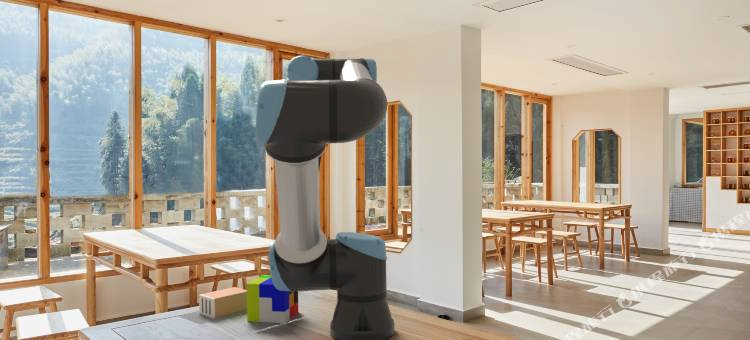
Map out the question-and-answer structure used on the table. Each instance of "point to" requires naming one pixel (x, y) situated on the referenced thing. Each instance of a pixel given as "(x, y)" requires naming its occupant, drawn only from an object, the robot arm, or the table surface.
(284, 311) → the puzzle toy
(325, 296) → the table surface
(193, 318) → the mat
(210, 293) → the block
